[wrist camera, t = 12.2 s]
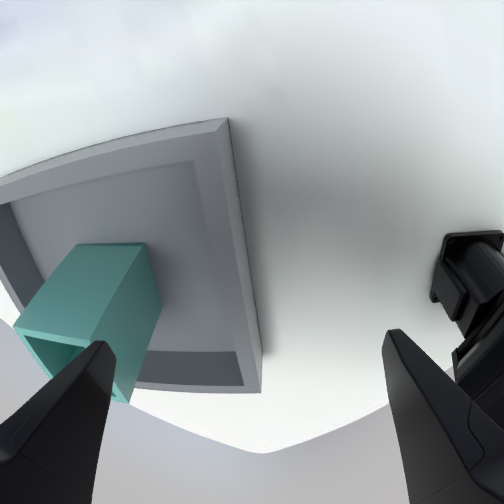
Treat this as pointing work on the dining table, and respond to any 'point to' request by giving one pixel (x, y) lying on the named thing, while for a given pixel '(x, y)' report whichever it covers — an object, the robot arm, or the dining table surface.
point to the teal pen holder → (95, 310)
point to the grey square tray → (149, 244)
